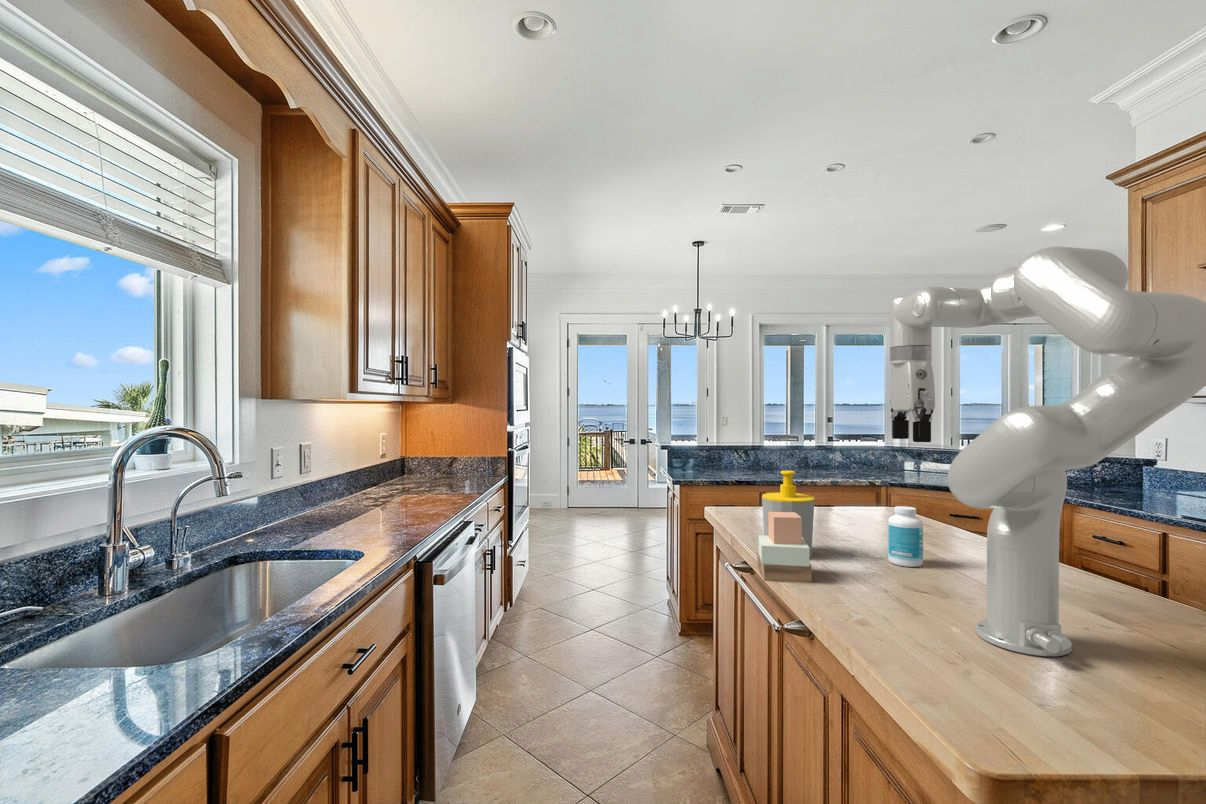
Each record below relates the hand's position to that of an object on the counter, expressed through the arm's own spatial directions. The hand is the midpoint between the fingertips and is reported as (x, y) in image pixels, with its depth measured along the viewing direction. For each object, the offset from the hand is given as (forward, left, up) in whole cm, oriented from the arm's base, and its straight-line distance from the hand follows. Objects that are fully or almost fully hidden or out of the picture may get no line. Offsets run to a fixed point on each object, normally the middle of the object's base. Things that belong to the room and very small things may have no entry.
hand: (910, 440), depth 115 cm
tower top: (+11, +23, -28) cm, 38 cm away
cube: (+11, +23, -24) cm, 35 cm away
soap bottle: (+29, +18, -32) cm, 46 cm away
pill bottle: (+22, -8, -32) cm, 39 cm away
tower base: (+11, +23, -32) cm, 41 cm away
